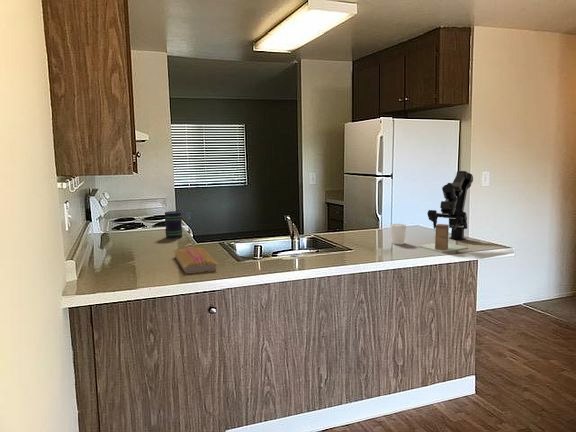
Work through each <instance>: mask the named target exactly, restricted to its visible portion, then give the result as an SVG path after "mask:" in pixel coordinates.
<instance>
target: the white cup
mask: <svg viewBox="0 0 576 432" xmlns="http://www.w3.org/2000/svg"><path fill="white" fill-rule="evenodd" d="M406 229H407V225H406V224H403V223H392V224H390V238H391V241H390V242H391V244H392V245H404V244H405V240H406V231H407V230H406Z"/></svg>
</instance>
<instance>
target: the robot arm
mask: <svg viewBox="0 0 576 432" xmlns="http://www.w3.org/2000/svg"><path fill="white" fill-rule="evenodd" d="M473 182H474V175H473V174H472V173H470V172H468V171H466V170H458V171H456V175H455V178H454V179H453V181H452V182H447V184H444V185H443V186H442V187H441V189H442V193H443V198H444V199H445V201H443V200H441V201H440V206H439V207H440V212H438V211H437V210H436V209H429V210H428V211H427V217H428V220H429V221H431V222H432V225H433V230H436V225H437V224H438V218H445V219H448V225H449V229H451V232H450V237H449V236H448V239H450V240H456V241H461V240H467V237H464V235H465V230H467V229H468V221H467V220H468V216H467V213H466V211H464V210H465V204H466V198H467V193H468V190H469V189H470V187H471V186H472V185H473V184H472V183H473Z"/></svg>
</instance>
